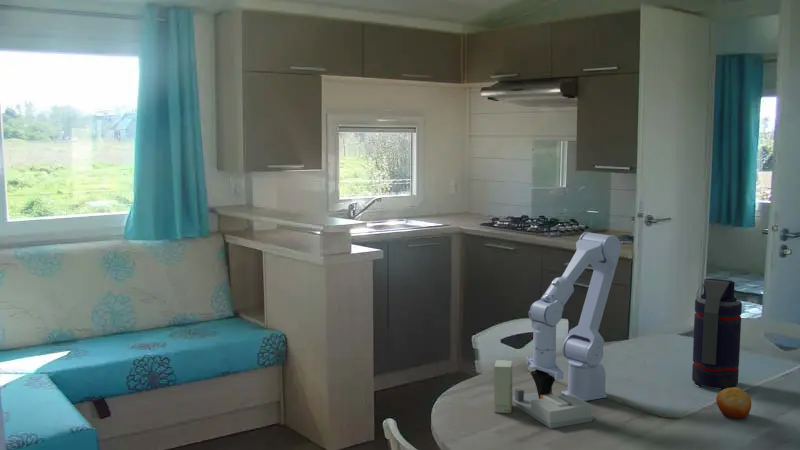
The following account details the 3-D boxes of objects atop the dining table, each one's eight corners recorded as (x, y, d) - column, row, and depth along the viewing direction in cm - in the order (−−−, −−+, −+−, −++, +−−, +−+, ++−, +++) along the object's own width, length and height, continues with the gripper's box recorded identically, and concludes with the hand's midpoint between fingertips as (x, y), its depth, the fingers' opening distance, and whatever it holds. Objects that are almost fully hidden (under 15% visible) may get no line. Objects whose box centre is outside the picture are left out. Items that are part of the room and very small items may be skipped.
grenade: (698, 375, 227) (702, 273, 223) (742, 383, 220) (747, 278, 216) (684, 389, 216) (688, 281, 212) (730, 397, 209) (735, 286, 205)
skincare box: (511, 413, 199) (511, 367, 197) (493, 412, 200) (493, 366, 198) (512, 405, 205) (513, 360, 203) (495, 404, 206) (495, 359, 204)
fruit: (748, 404, 200) (751, 383, 195) (750, 429, 194) (753, 408, 189) (714, 400, 203) (716, 380, 198) (715, 425, 197) (717, 404, 192)
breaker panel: (545, 394, 213) (546, 379, 212) (592, 421, 193) (592, 405, 193) (507, 400, 208) (507, 385, 208) (550, 428, 189) (550, 412, 188)
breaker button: (551, 403, 202) (551, 393, 202) (569, 413, 195) (569, 403, 195) (540, 405, 201) (540, 394, 201) (557, 415, 194) (557, 404, 193)
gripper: (516, 341, 206) (515, 391, 208) (546, 356, 193) (545, 410, 194) (539, 339, 208) (538, 388, 210) (570, 353, 195) (569, 406, 197)
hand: (543, 398), depth 202 cm, fingers closed
